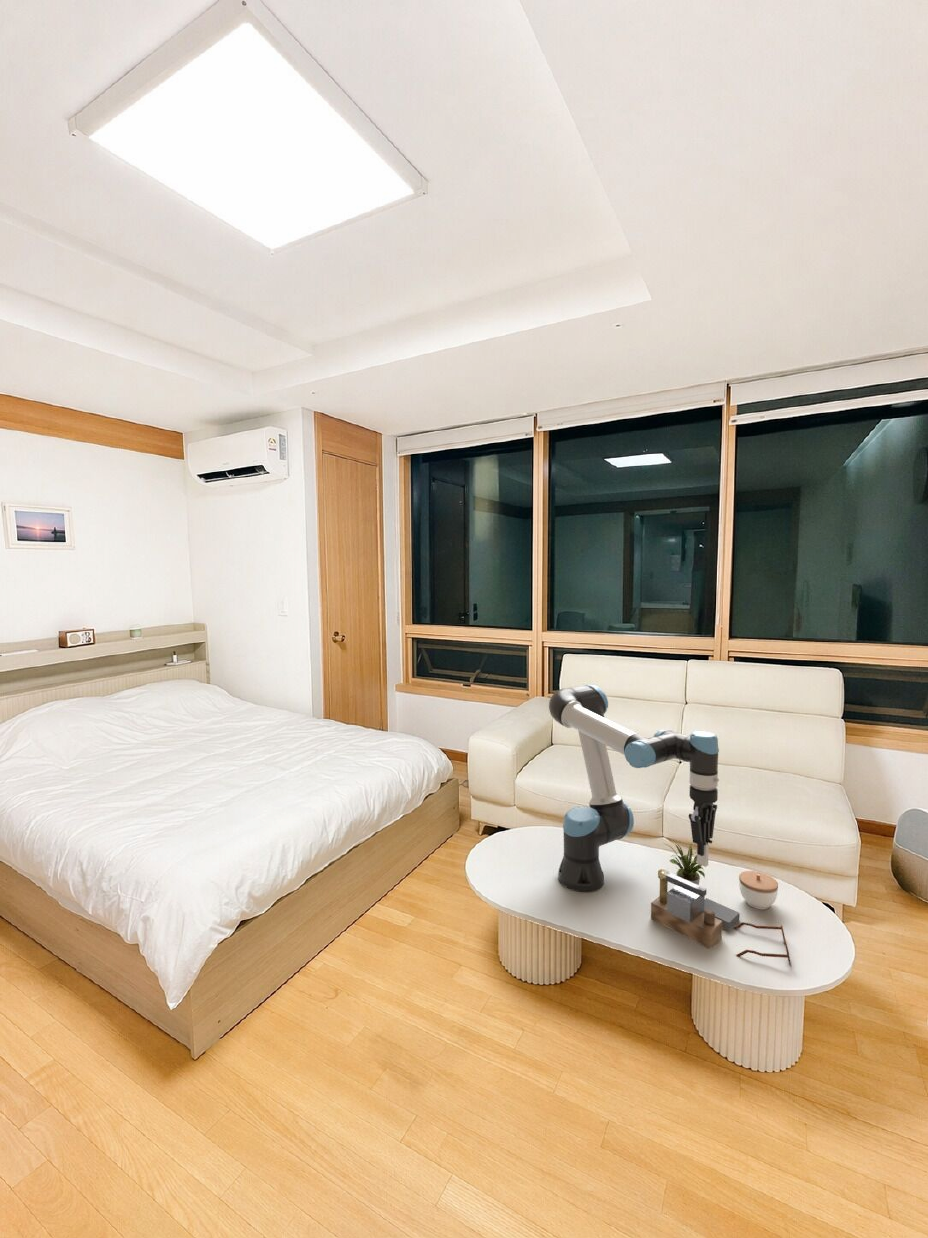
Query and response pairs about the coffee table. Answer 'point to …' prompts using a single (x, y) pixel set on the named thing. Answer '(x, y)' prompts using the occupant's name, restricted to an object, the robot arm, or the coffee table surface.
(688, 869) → the house plant
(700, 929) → the body
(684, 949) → the coffee table surface
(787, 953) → the glasses
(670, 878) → the lever
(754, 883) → the lidded jar
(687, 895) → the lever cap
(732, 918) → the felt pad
